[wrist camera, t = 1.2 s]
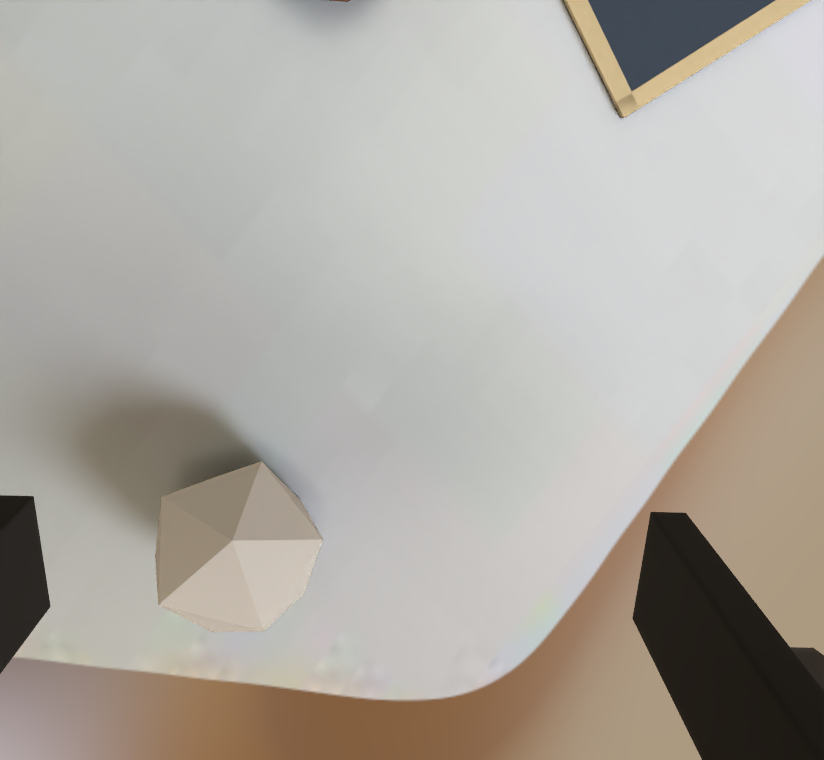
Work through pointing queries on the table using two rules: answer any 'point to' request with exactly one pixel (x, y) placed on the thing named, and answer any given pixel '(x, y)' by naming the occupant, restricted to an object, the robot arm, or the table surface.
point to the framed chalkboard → (665, 39)
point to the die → (234, 550)
